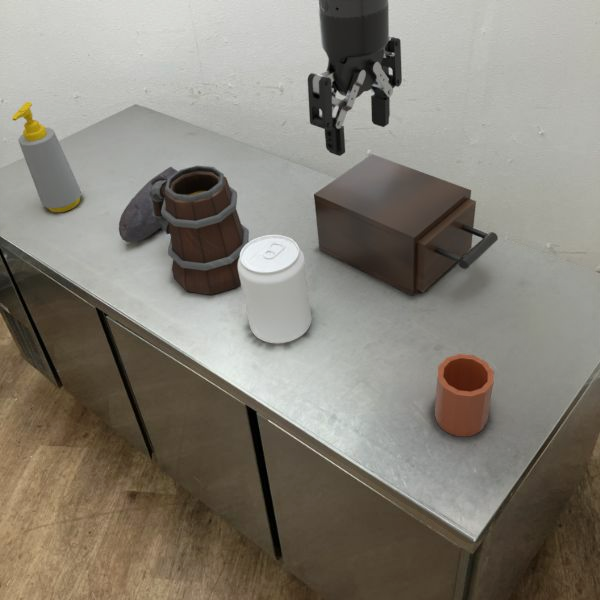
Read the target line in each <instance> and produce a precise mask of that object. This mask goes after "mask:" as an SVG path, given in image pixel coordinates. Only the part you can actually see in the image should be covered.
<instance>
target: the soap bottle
mask: <svg viewBox="0 0 600 600" xmlns="http://www.w3.org/2000/svg"><path fill="white" fill-rule="evenodd" d="M32 106H33V103H32V102H31V101H26V102H25V103H23V104H22V105H21V107H20V108H19V109H18V110H17V111H16V112H15V113H14V114H13V116H12V117H11V119H12V121H17V120H18V119H20V118H23V119H24V120H25V121H26V122H24V124H23V128H24V129H23V131H22V134H21V135H20V136H19V138H18V139H17V140H18V144H19V147H20V149H21V152H22V154H23V157H24V161H25V162H26V166H27V168H28V171H29V173H30V176H31V178H32V181H33V184H34V186H35V189H36V192H37V194H38V197H39V201H40V203H41V205H42V206H44V207H45V208H47V210H49V211H50V212H52V213H64V212H67V211H70V210H72V209H74V208H76V207H77V206H78V205H79V204H80V201H81V196H82V190H81V188H80V185H79V183H78V181H77V178H76V176H75V174H74V172H73V170H72V167H71V165H70V163H69V161H68V158H67V157H66V153H65V151H64V150H63V147H62V145H61V143H60V141H59V139H58V136H57V134H56V132H55V130H54V129H52V128H50V127H46V126H45V125H43V124H40V123H39V120H36V119H33V117H34V115H33V113H32V110H31V107H32Z"/></svg>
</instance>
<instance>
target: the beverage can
mask: <svg viewBox="0 0 600 600" xmlns="http://www.w3.org/2000/svg"><path fill="white" fill-rule="evenodd" d="M305 259H306V258H305V255H304V253H303V251H302V249H301V248H300V247H299V244H298V243H297V242H296V241H295V240H294V239H292V238H291V237H288V236H285V235H282V234H265V235H262V236H258V237H255V238H253V239H251V240H250V241H249V242H248V243H247V244H246V245H245V246H244V247H243V248H242V250H241V252H240V258H239V260H238V272H239V277H240V282H241V284H240V286H241V291H242V295H243V301H244V305H245V309H246V313H247V319H248V323H249V327H250V331H251V332H252V333H253V334H254V336H255V337H256V338H258V339H259V340H261V341H264V342H265V343H271V344H284V343H290V342H292V341H295V340H297V339H298V338H300V337H301V336H303V335H304V334H305V333H306V332H307V331H308V330H309V328H310V326H311V325H312V311H311V303H310V293H309V286H308V278H307V277H308V276H307V268H306V260H305Z"/></svg>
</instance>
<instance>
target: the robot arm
mask: <svg viewBox="0 0 600 600" xmlns="http://www.w3.org/2000/svg"><path fill="white" fill-rule="evenodd" d="M317 4H318V5H317V6H318V7H317V8H318V18H319V30H320V31H319V32H320V44H321V48H322V49H323V51H324V52H325V54H326V56H327V58H328V59H327V60H328V61H327V67H326V71H324V72H322V73H320V74H317V73H313V72H310V73H309V75H308V76H307V94H308V95H307V96H308V113H309V115H308V116H309V124H310V125H311V126H314V127H317V128H320V129H323V130H324V139H325V148H326V150H327V151H328V152H329V153H330V154H332V155H335V156H338V157H341V156H342V155H344V154H345V153H346V140H345V126H344V122H345V119H346V116H347V114H348V112H349V111H350V110H352V109H353V107H354V104H355V101H356V99H357V98H359V97H360V96H361V95H362V94H363V93H364V92H365V93H366V92H369V91H371V93H373V94H372V95H371V96H370V103H371V107H370V109H371V122H372V124H374V125H376V126H379V127H382V128H385V127H386V126H388V125H389V123H390V115H391V113H390V112H391V111H390V110H391V109H390V107H391V106H390V103H391V101H390V98H391V97H392V95H393V93H394V88H395V87H397V88H399V87H401V85H402V82H403V77H402V76H403V73H402V46H401V44H402V43H401V39H400V38H398V37H395V36H391V35H390V34H389V33H390V27H389V26H390V22H389V20H390V19H389V18H390V17H389V12H390V11H389V10H390V9H389V0H317ZM389 68H390V69H391V70H392V71H391V72H392V74H391V73H390V69H389ZM337 93H338V94H339V95H340V96H343V97H344V98H342V99H340V98H338V97H336V96H337ZM336 107H337V108H338V109H337V111H336V114H335V115H333V113H334V111H335V108H336ZM320 111H321V114H320Z"/></svg>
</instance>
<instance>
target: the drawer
mask: <svg viewBox="0 0 600 600" xmlns="http://www.w3.org/2000/svg"><path fill="white" fill-rule="evenodd" d="M476 205H477V201H476V200H474V199H471V198H470V199H469V198H468V199H467V200H466V201H465V202H463V203H462V204H461V205H460V206H459V207H458V208H456V209H454V210H453V211H452V212H451V213H450V214H448V215H447V216H446V217H445V218H444V219H442V220H441V221H440V222H439V223H438V224H437V225H435V226H434V227H433V228H432V229H431V230H429V231H428V232H427V233H426V234H425V235H423V236H422V237H421V238H420V239H419V240H418V241H417V261H416V289H418V290H419V291H420V292H421V293H424V292H425V291H426V290H427V289H428V288H429V287H430V286H432V284H434V283H435V282H436V281H437V280H438V279H439V278H440V277H441V276H442V275H444V273H446V272H447V271H448V270H449V269H450V268H451V267H452V266H454V264H456V263H458V266H459V267H460V268H461V269H464V270H467V269H469V268H470V266H472V265H473V264H474V263H475V262H476V261H477V260H478V259H479V258H480V257H481V256H483V254H484V253H485V252H487V251H488V250H489V249H490V248H491V247H492V246H493V245H494V244H495V243H496V242H497V241H498V239H499V237H498V235H497V233H496V232H494V231H490V232H484V231H482V230H480V229H477V228H475V227H474V226H475V225H474V224H475V215H476V208H477V207H476ZM473 235H474V236H476V237H478V238H481V239H480V241H479V242H477V244H475V245H474V246H473V245H472V244H473ZM472 246H473V247H472Z"/></svg>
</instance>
